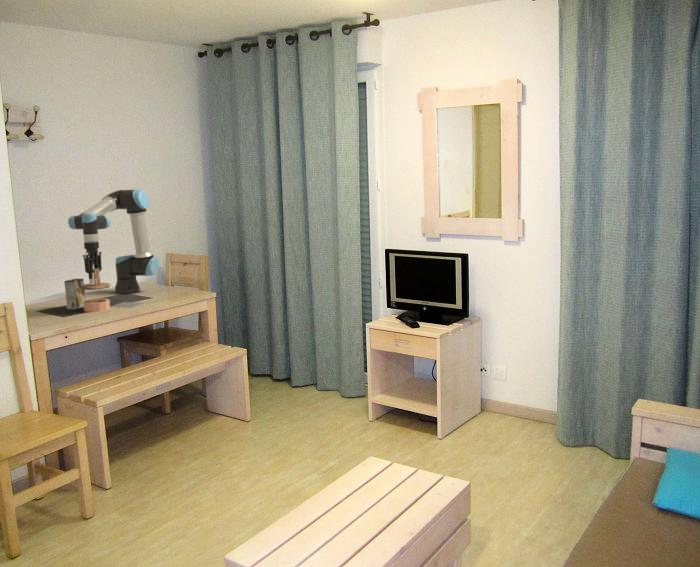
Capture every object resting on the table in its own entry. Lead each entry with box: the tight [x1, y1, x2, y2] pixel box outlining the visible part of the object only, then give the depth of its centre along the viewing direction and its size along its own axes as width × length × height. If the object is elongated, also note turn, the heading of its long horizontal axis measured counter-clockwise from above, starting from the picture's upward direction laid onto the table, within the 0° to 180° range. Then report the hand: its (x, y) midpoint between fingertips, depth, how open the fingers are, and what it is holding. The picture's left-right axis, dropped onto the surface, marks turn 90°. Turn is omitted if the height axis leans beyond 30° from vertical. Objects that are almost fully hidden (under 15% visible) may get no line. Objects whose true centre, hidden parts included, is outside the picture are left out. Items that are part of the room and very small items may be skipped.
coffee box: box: [64, 278, 87, 310], centre depth 386 cm, size 9×6×16 cm
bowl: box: [83, 298, 111, 313], centre depth 380 cm, size 13×13×5 cm
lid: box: [79, 268, 111, 291], centre depth 377 cm, size 16×16×10 cm
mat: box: [110, 301, 144, 309], centre depth 391 cm, size 14×14×1 cm
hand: (94, 283), depth 377 cm, fingers closed on lid, 4 cm apart
